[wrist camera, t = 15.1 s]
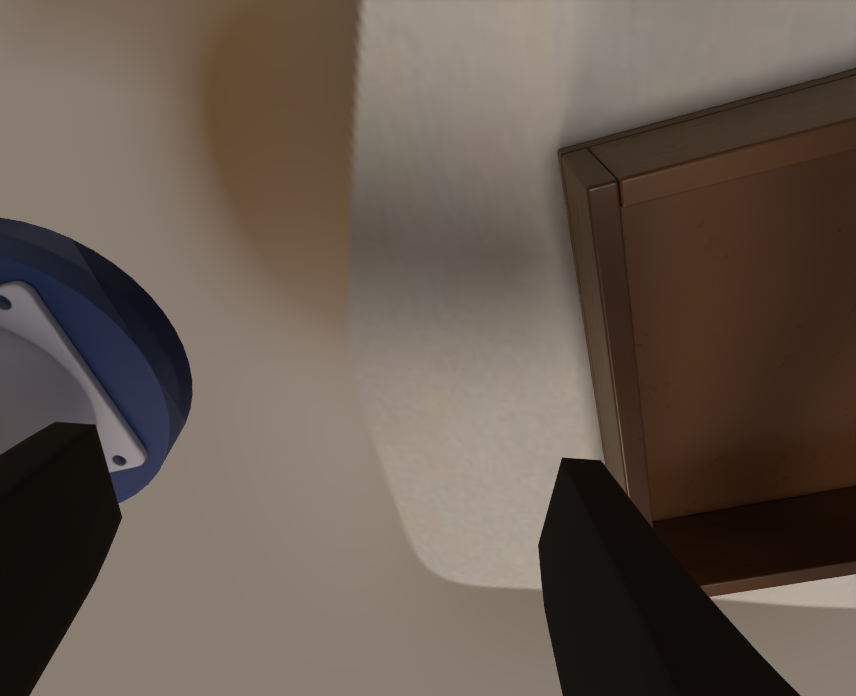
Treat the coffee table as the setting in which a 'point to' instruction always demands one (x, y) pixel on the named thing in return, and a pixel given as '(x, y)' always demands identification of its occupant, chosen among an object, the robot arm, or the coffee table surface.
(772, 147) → the tray
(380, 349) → the coffee table surface
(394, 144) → the coffee table surface
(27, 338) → the robot arm
